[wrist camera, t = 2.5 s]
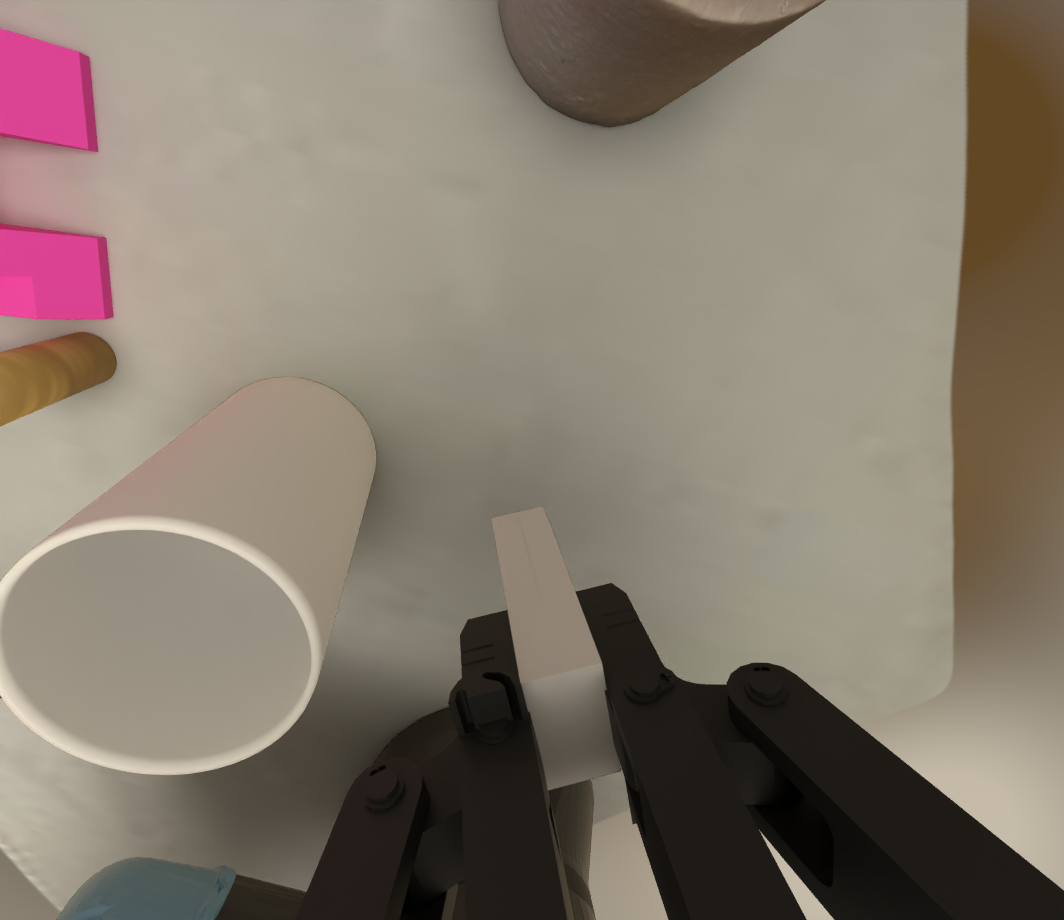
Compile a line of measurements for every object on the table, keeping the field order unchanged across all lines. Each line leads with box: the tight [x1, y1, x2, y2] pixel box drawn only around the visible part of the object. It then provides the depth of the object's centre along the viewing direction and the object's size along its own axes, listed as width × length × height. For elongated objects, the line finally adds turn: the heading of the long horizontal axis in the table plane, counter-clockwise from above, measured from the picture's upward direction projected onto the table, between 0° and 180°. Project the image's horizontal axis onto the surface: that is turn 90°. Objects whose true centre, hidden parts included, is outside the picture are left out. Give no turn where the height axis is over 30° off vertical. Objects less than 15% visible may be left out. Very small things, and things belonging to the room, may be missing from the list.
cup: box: [0, 377, 376, 775], centre depth 23 cm, size 8×8×16 cm
